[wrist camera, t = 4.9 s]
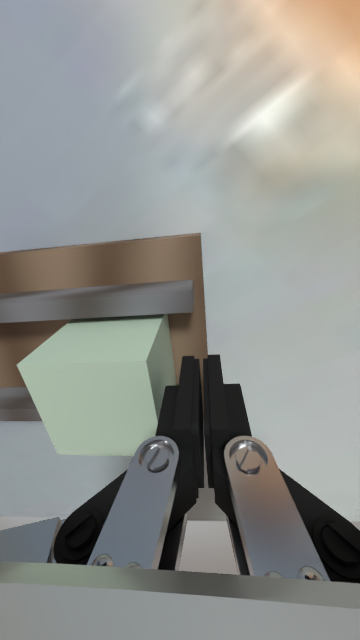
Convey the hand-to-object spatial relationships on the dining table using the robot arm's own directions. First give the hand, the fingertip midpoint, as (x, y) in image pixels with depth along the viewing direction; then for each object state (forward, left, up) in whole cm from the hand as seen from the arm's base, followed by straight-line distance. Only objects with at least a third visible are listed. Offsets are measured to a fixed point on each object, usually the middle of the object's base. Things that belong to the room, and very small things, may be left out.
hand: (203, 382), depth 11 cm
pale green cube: (+4, 0, -3) cm, 5 cm away
